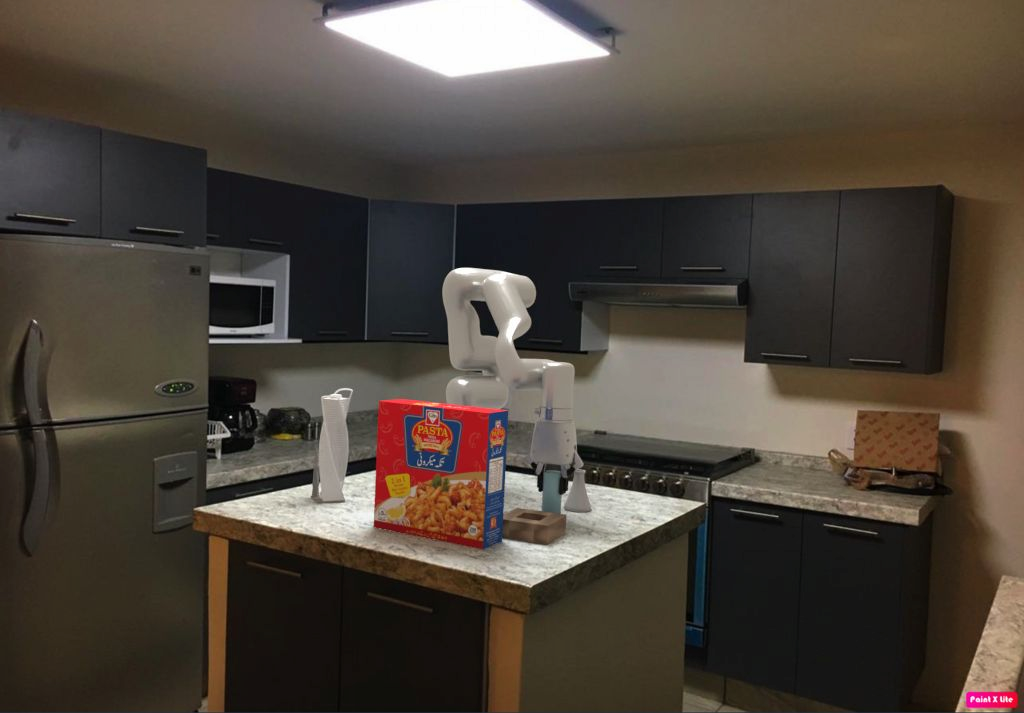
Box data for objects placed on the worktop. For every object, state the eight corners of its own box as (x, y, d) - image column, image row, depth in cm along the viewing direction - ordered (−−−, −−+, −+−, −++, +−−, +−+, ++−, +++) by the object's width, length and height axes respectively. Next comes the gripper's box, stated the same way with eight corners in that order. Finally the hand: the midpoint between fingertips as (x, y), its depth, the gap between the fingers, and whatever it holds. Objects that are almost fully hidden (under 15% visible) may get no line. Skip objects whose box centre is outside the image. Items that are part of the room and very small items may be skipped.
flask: (590, 514, 209) (592, 473, 209) (561, 511, 211) (563, 471, 210) (593, 508, 216) (595, 469, 216) (565, 505, 218) (567, 466, 217)
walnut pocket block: (495, 536, 183) (496, 518, 183) (516, 525, 194) (516, 507, 194) (547, 544, 178) (548, 525, 178) (565, 532, 189) (566, 514, 189)
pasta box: (373, 527, 186) (378, 401, 185) (395, 520, 193) (400, 398, 192) (482, 549, 172) (489, 413, 171) (502, 541, 179) (508, 410, 178)
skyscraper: (343, 495, 216) (348, 386, 215) (352, 502, 209) (356, 389, 208) (310, 497, 212) (315, 386, 211) (317, 504, 205) (322, 389, 204)
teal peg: (538, 515, 197) (540, 472, 196) (545, 511, 201) (547, 469, 201) (556, 517, 195) (559, 474, 195) (563, 513, 199) (565, 471, 199)
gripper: (516, 413, 197) (512, 490, 198) (586, 419, 190) (581, 500, 191) (528, 410, 204) (524, 485, 205) (595, 416, 197) (591, 494, 198)
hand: (552, 491), depth 198 cm, fingers closed on teal peg, 4 cm apart
